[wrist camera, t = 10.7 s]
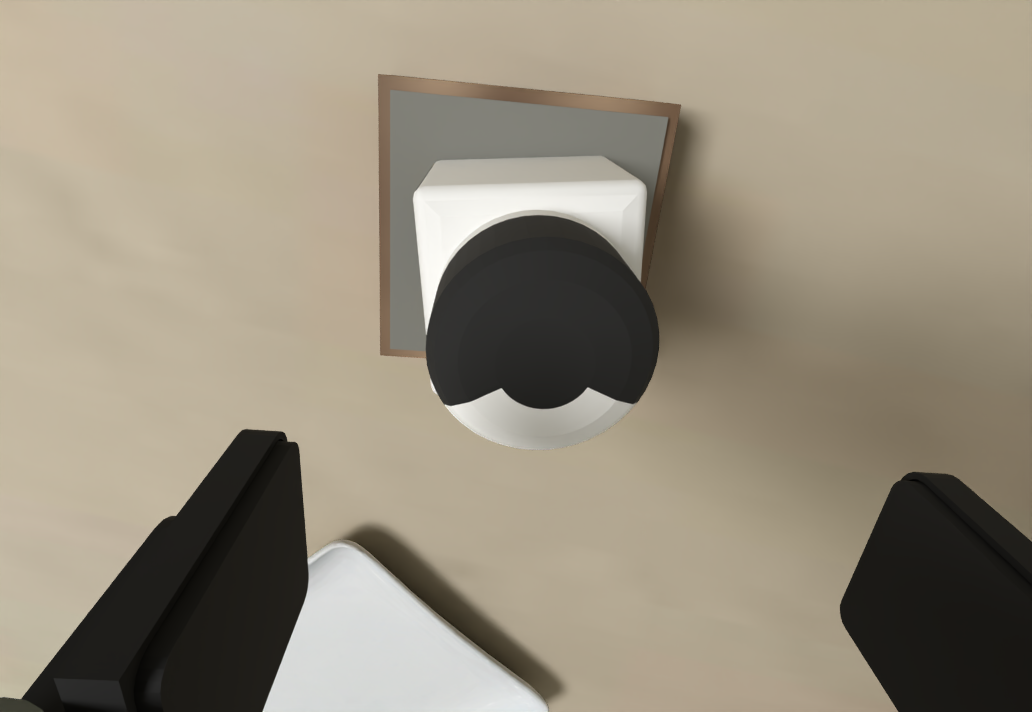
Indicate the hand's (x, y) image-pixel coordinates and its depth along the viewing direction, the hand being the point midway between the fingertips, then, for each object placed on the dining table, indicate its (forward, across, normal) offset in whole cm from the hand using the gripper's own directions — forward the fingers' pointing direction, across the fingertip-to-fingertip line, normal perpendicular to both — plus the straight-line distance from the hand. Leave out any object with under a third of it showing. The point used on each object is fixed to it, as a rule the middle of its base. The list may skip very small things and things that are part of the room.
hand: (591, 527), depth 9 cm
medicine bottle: (+18, +1, 0) cm, 18 cm away
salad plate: (+22, +10, +33) cm, 41 cm away
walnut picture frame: (+22, +1, 0) cm, 22 cm away
